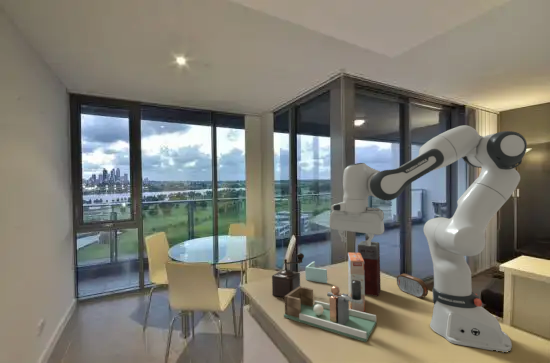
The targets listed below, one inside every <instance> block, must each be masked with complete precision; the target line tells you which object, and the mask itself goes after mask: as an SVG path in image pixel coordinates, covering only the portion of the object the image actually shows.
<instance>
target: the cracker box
mask: <svg viewBox="0 0 550 363" xmlns="http://www.w3.org/2000/svg"><path fill="white" fill-rule="evenodd" d="M347 270H348V272H347V273H348V274H347V275H348V278H347V279H348V296H349V297H352V280H358V281H360V282H361V299H363V303H362V304H359V303H355V302H350V301H349V308H350V309H352V310H356V311H360V312H365V313H366V308H365V307H366V298H365V296H366V294H365V281H364V260H363V258H362V256H361V253H358V252H350V251H349V252H347Z"/></svg>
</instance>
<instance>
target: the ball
mask: <svg viewBox="0 0 550 363" xmlns="http://www.w3.org/2000/svg"><path fill="white" fill-rule="evenodd" d="M313 310H314V313H315V314H316V315H322V314H323V312H324V309H323V307H322V305H320V304H316V305H315V306H314V308H313Z"/></svg>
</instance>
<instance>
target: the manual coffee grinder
mask: <svg viewBox="0 0 550 363" xmlns="http://www.w3.org/2000/svg"><path fill="white" fill-rule="evenodd" d="M304 257H305V255H304V254H303V253H301V252H299V253H297V254H296V258H297V261H289V262H288V259H287V258H285V259H284V262H283V263H284V269H282V270H280V271H277V272H276V273H274V274H273V275H271V281H272V282H271V283H272V289H271V290H272V296H274V295H275V297H278V296H280V297H279V298H282V297H284V298H283V299H285V296H286V295H287V294H289V293H290V292H291V291H293V290H294V289H296V288H297V287H299V286H301V272H297V271H294V270H291V269H288V265H293V264H294V265H296V264H302V263H303V259H304Z"/></svg>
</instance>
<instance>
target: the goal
mask: <svg viewBox="0 0 550 363" xmlns="http://www.w3.org/2000/svg"><path fill="white" fill-rule="evenodd" d="M301 304H304V305H307V306H311V307H313V306H314V289H313V288H309V287H305V286H301V285H300V286H299V287H297V288H296V289H294V290H293V291H291V292H290V293H289V294H287V295H286V296H285V298H284V314H287V315H291V316H294V317H297V318H299V314H300V313H301Z"/></svg>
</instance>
